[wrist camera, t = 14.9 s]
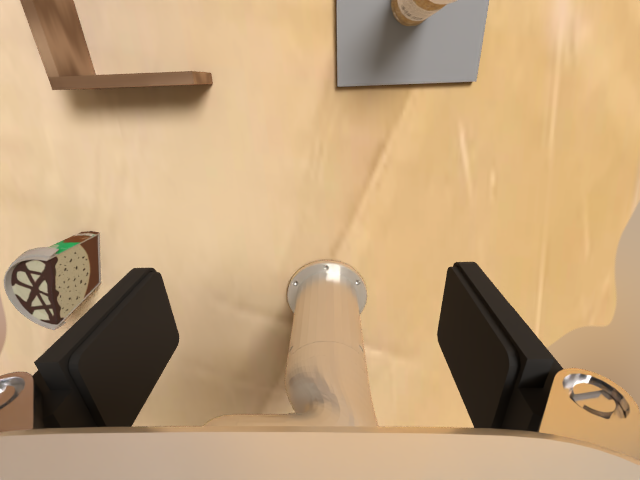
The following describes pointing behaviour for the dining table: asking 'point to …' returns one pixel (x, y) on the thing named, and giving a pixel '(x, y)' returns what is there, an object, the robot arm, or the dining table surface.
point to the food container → (55, 279)
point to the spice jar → (416, 10)
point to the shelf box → (84, 52)
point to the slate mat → (408, 44)
